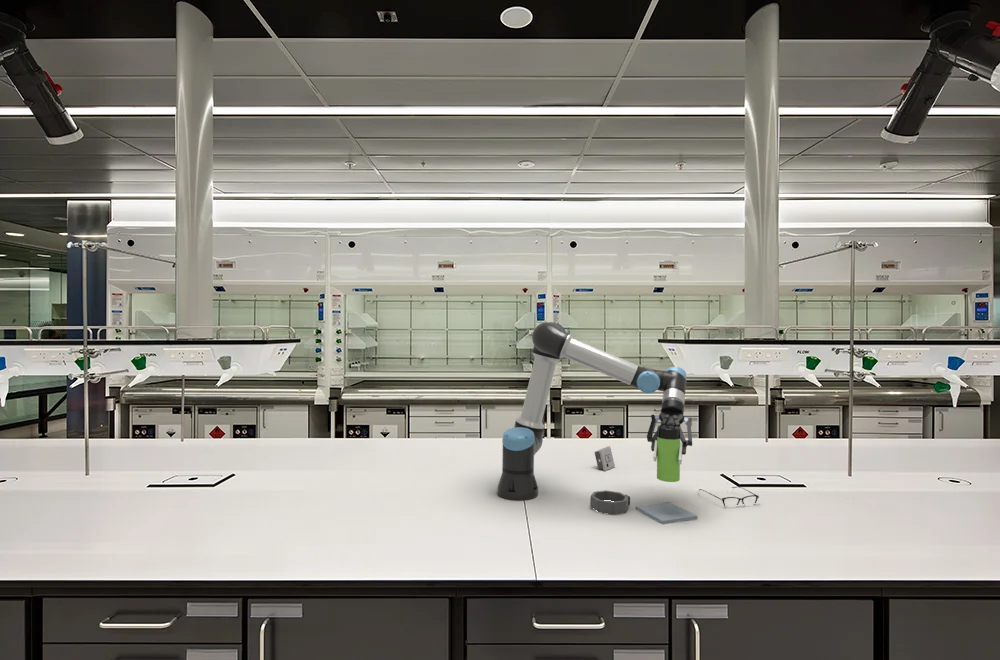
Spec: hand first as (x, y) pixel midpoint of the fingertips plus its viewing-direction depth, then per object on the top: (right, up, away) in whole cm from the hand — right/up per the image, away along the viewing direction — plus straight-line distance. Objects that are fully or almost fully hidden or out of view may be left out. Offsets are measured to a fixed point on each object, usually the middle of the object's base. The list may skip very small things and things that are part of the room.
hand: (667, 460), depth 171 cm
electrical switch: (-9, -18, +59) cm, 62 cm away
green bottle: (+1, -7, +3) cm, 8 cm away
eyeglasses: (+28, -20, +19) cm, 39 cm away
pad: (+1, -19, +3) cm, 19 cm away
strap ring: (-17, -18, +8) cm, 27 cm away
